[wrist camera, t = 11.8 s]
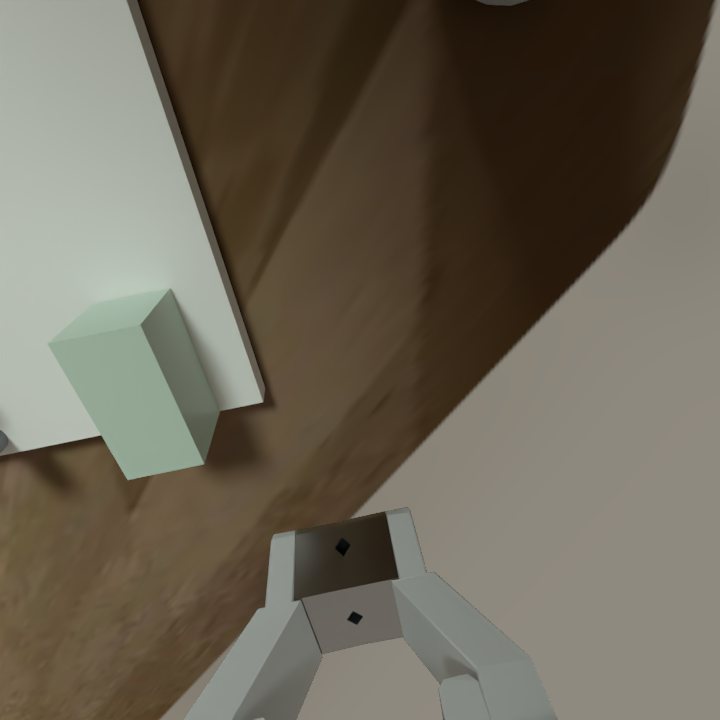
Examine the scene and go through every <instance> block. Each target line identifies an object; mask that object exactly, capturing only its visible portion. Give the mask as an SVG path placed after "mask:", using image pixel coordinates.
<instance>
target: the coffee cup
mask: <svg viewBox="0 0 720 720" xmlns="http://www.w3.org/2000/svg"><path fill="white" fill-rule="evenodd" d="M477 1H479V2H482V3H484V4H486V5H508V6H512V5H515V4H518V3H522V2H525V1H528V0H477Z"/></svg>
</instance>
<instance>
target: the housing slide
mask: <svg viewBox="0 0 720 720" xmlns="http://www.w3.org/2000/svg"><path fill="white" fill-rule="evenodd" d="M47 344H48V346H49V348H50V349H51V351H52V353H53V354H54V356H55V358H56V359H57V361H58V363H59V365H60V366H61V368H62V370H63V371H64V373H65V375H66V376H67V378H68V380H69V381H70V383H71V385H72V387H73V388H74V390H75V392H76V393H77V395H78V397H79V398H80V400H81V402H82V403H83V405H84V407H85V409H86V410H87V412H88V414H89V415H90V417H91V419H92V420H93V422H94V424H95V426H96V427H97V429H98V431H99V432H100V434H101V436H102V437H103V439H104V441H105V442H106V444H107V446H108V448H109V449H110V451H111V453H112V454H113V456H114V458H115V459H116V461H117V463H118V464H119V466H120V468H121V470H122V471H123V473H124V475H125V476H126V478H127V480H130V479H135V478H140V477H145V476H150V475H154V474H159V473H164V472H169V471H174V470H179V469H184V468H188V467H193V466H198V465H203V464H205V461H206V457H207V454H208V451H209V447H210V444H211V440H212V437H213V434H214V430H215V427H216V424H217V420H218V417H219V413H220V410H219V408H218V406H217V403H216V401H215V398H214V396H213V393H212V391H211V388H210V386H209V383H208V381H207V378H206V376H205V373H204V371H203V368H202V366H201V364H200V361H199V359H198V356H197V354H196V351H195V349H194V346H193V344H192V341H191V339H190V336H189V334H188V331H187V329H186V326H185V324H184V322H183V319H182V317H181V314H180V312H179V309H178V307H177V304H176V302H175V299H174V297H173V294H172V292H171V289H170V288H169V289H164V290H159V291H154V292H149V293H144V294H139V295H134V296H129V297H124V298H119V299H114V300H109V301H104V302H99V303H94V304H93V305H91V306H90V307H89V308H88V309H87V310H86V311H84V312H83V313H82V314H81V315H80V316H79V317H77V318H76V319H75V320H74V321H73V322H72V323H70V324H69V325H68V326H67V327H66V328H65V329H63V330H62V331H61V332H60V333H59V334H58V335H56V336H55V337H54V338H53V339H52V340H51V341H49V342H48V343H47Z"/></svg>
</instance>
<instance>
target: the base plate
mask: <svg viewBox="0 0 720 720" xmlns="http://www.w3.org/2000/svg"><path fill="white" fill-rule="evenodd" d="M169 288H170V289H171V292H172V294H173V297H174V299H175V302H176V304H177V307H178V309H179V312H180V314H181V317H182V319H183V322H184V324H185V326H186V329H187V331H188V334H189V336H190V339H191V341H192V344H193V346H194V349H195V351H196V354H197V356H198V359H199V361H200V364H201V366H202V368H203V371H204V373H205V376H206V378H207V381H208V383H209V386H210V388H211V391H212V393H213V396H214V398H215V401H216V403H217V406H218V408H219V410H220V411H223V410H228V409H233V408H238V407H242V406H247V405H252V404H257V403H262V402H263V401H264V394H265V386H264V383H263V380H262V377H261V374H260V371H259V368H258V365H257V362H256V358H255V355H254V352H253V349H252V346H251V343H250V340H249V337H248V334H247V331H246V328H245V325H244V322H243V319H242V316H241V313H240V310H239V307H238V304H237V301H236V298H235V295H234V292H233V289H232V286H231V283H230V280H229V277H228V274H227V271H226V268H225V265H224V262H223V259H222V256H221V253H220V250H219V247H218V244H217V241H216V238H215V235H214V232H213V228H212V225H211V222H210V219H209V216H208V213H207V210H206V207H205V204H204V201H203V198H202V195H201V192H200V189H199V186H198V183H197V180H196V177H195V174H194V171H193V168H192V165H191V162H190V159H189V156H188V153H187V150H186V147H185V144H184V141H183V138H182V135H181V132H180V129H179V126H178V123H177V120H176V117H175V114H174V111H173V108H172V105H171V101H170V98H169V95H168V92H167V89H166V86H165V83H164V80H163V77H162V74H161V71H160V68H159V65H158V62H157V59H156V56H155V53H154V50H153V47H152V44H151V41H150V38H149V35H148V32H147V29H146V26H145V23H144V20H143V17H142V14H141V11H140V8H139V5H138V2H137V0H0V456H2V455H7V454H12V453H17V452H22V451H27V450H31V449H36V448H41V447H46V446H51V445H56V444H61V443H66V442H71V441H76V440H81V439H85V438H90V437H95V436H100V435H101V434H100V432H99V431H98V429H97V427H96V426H95V424H94V422H93V420H92V419H91V417H90V415H89V414H88V412H87V410H86V409H85V407H84V405H83V403H82V402H81V400H80V398H79V397H78V395H77V393H76V392H75V390H74V388H73V387H72V385H71V383H70V381H69V380H68V378H67V376H66V375H65V373H64V371H63V370H62V368H61V366H60V365H59V363H58V361H57V359H56V358H55V356H54V354H53V353H52V351H51V349H50V348H49V346H48V344H47V343H48V342H49V341H51V340H52V339H53V338H54V337H55V336H56V335H58V334H59V333H60V332H61V331H62V330H63V329H65V328H66V327H67V326H68V325H69V324H70V323H72V322H73V321H74V320H75V319H76V318H77V317H79V316H80V315H81V314H82V313H83V312H84V311H86V310H87V309H88V308H89V307H90V306H91V305H93V304H94V303H99V302H104V301H109V300H114V299H119V298H124V297H129V296H134V295H139V294H144V293H149V292H154V291H159V290H164V289H169Z"/></svg>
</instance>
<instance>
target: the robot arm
mask: <svg viewBox="0 0 720 720" xmlns="http://www.w3.org/2000/svg"><path fill="white" fill-rule="evenodd" d="M389 531H390V532H389ZM390 536H391V537H390ZM391 541H392V542H391ZM400 637H404V640H405V641H406V642H407V643H408V645H409V646H410V647H411V648H412V649H413V651H414V652H415V653H416V655H417V656H418V657H419V658H420V660H421V661H422V662H423V663H424V664H425V666H426V667H427V668H428V670H429V671H430V672H431V673H432V675H433V676H434V677H435V678H436V680H437V681H438V682H439V683H440V687H439V696H440V702H441V708H442V715H443V720H558V719H557V717H556V714H555V712H554V710H553V707H552V705H551V703H550V700H549V698H548V695H547V693H546V691H545V688H544V686H543V684H542V681H541V679H540V677H539V674H538V672H537V670H536V667H535V665H534V663H533V660H532V658H531V657H530V656H528V655H527V654H526V653H525V652H524V651H523V650H522V649H521V648H519V647H518V646H517V645H516V644H515V643H514V642H513V641H511V640H510V639H509V638H508V637H507V636H506V635H505V634H504V633H503V632H501V631H500V630H499V629H498V628H497V627H496V626H494V624H492V623H491V622H490V621H489V620H488V619H487V618H486V617H485V616H483V615H482V614H481V613H480V612H479V611H478V610H477V609H476V608H474V607H473V606H472V605H471V604H470V603H469V602H468V601H466V600H465V599H464V598H463V597H462V596H461V595H460V594H458V592H456V591H455V590H454V589H453V588H452V587H451V586H450V585H449V584H447V583H446V582H445V581H444V580H443V579H442V578H440V576H438V575H437V574H436V573H435V572H431V573H427V570H426V567H425V563H424V559H423V556H422V552H421V548H420V545H419V541H418V537H417V534H416V530H415V526H414V523H413V519H412V515H411V511H410V509H409V508H408V507H405V508H400V509H395V510H391V511H386V513H385V512H380V513H376V514H371V515H367V516H362V517H358V518H353V519H348V520H344V521H341V522H337V523H332V524H326V525H321V526H315V527H309V528H304V529H298V530H295V531H289V532H284V533H279V534H274V535H273V538H272V541H271V548H270V559H269V570H268V581H267V592H266V603H265V607H264V608H260V609H258V610H257V611H256V613H255V614H254V616H253V617H252V619H251V620H250V622H249V623H248V625H247V626H246V627H245V629H244V630H243V632H242V633H241V635H240V636H239V638H238V639H237V641H236V642H235V644H234V645H233V647H232V648H231V650H230V651H229V653H228V654H227V656H226V657H225V659H224V661H223V662H222V664H221V665H220V666H219V668H218V669H217V671H216V672H215V674H214V675H213V677H212V678H211V680H210V681H209V683H208V684H207V686H206V687H205V689H204V690H203V692H202V693H201V695H200V696H199V698H198V699H197V701H196V702H195V704H194V705H193V706H192V708H191V710H190V711H189V712H188V714H187V715H186V717H185V718H184V720H296V719H297V716H298V714H299V712H300V709H301V707H302V705H303V702H304V700H305V698H306V695H307V693H308V691H309V688H310V686H311V683H312V681H313V679H314V676H315V674H316V672H317V669H318V667H319V664H320V662H321V660H322V658H323V657H322V654H325V653H329V652H333V651H337V650H342V649H346V648H350V647H354V646H358V645H362V644H368V643H373V642H378V641H384V640H389V639H395V638H400Z"/></svg>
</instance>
